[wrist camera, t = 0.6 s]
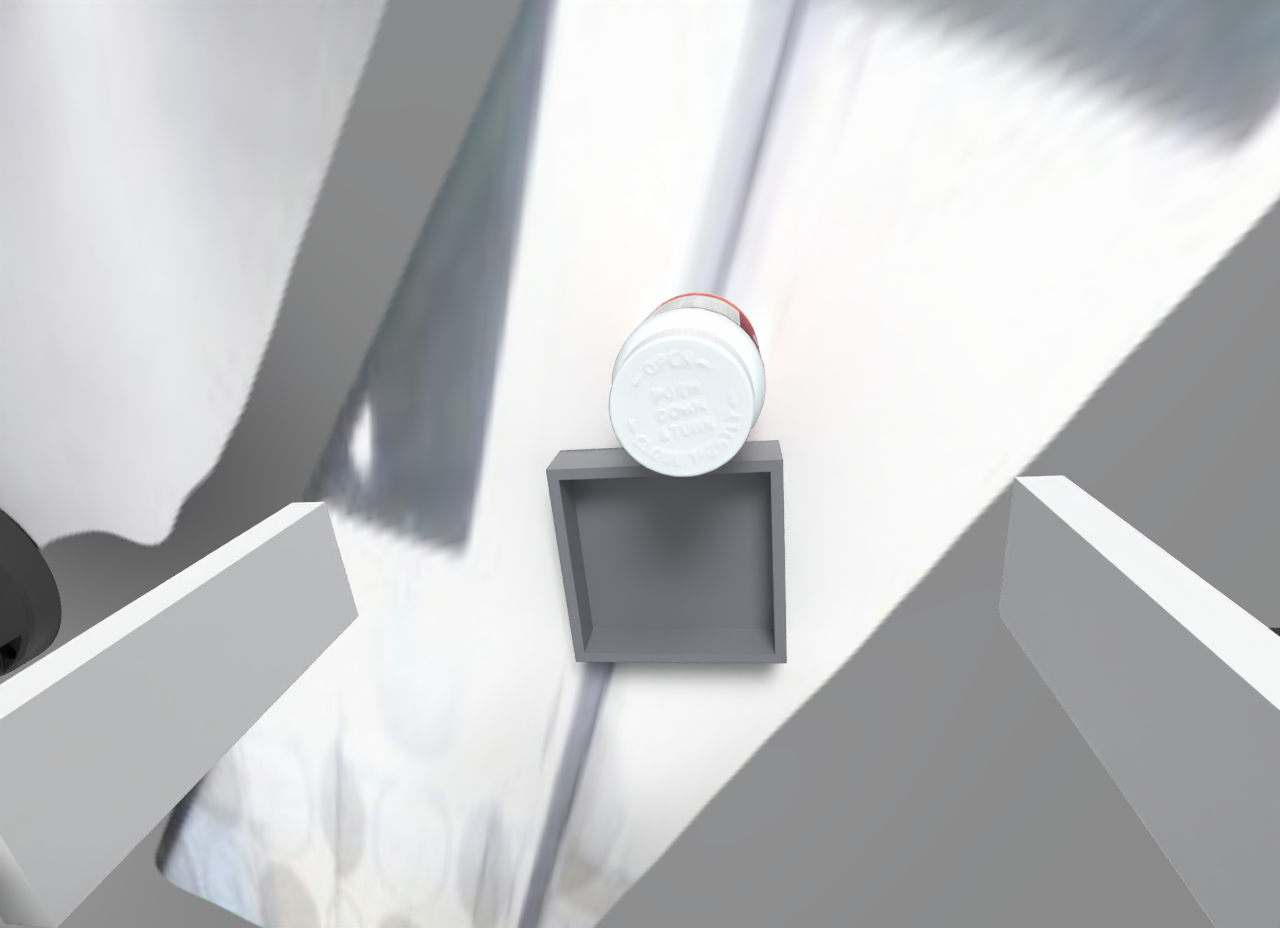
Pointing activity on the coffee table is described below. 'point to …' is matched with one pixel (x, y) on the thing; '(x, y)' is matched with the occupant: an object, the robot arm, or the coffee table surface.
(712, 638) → the tray
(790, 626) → the coffee table surface
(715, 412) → the pill bottle
